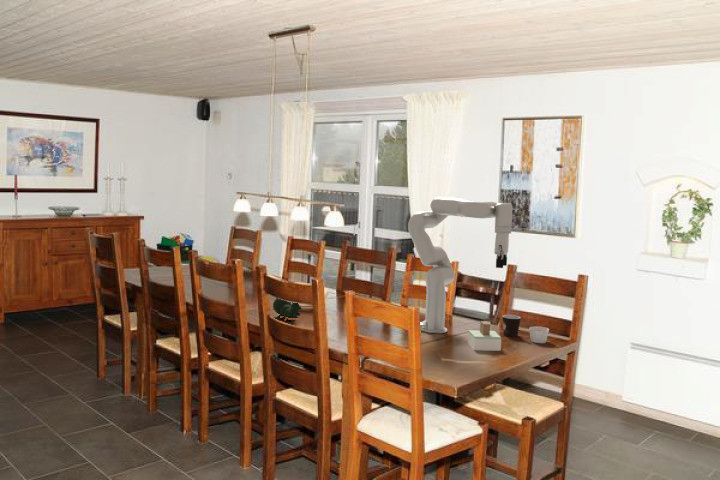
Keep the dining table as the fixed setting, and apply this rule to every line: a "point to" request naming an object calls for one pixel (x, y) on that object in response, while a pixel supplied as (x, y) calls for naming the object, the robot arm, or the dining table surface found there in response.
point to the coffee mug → (511, 325)
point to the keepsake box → (484, 344)
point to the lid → (484, 332)
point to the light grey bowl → (538, 334)
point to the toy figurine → (286, 308)
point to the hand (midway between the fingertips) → (501, 266)
